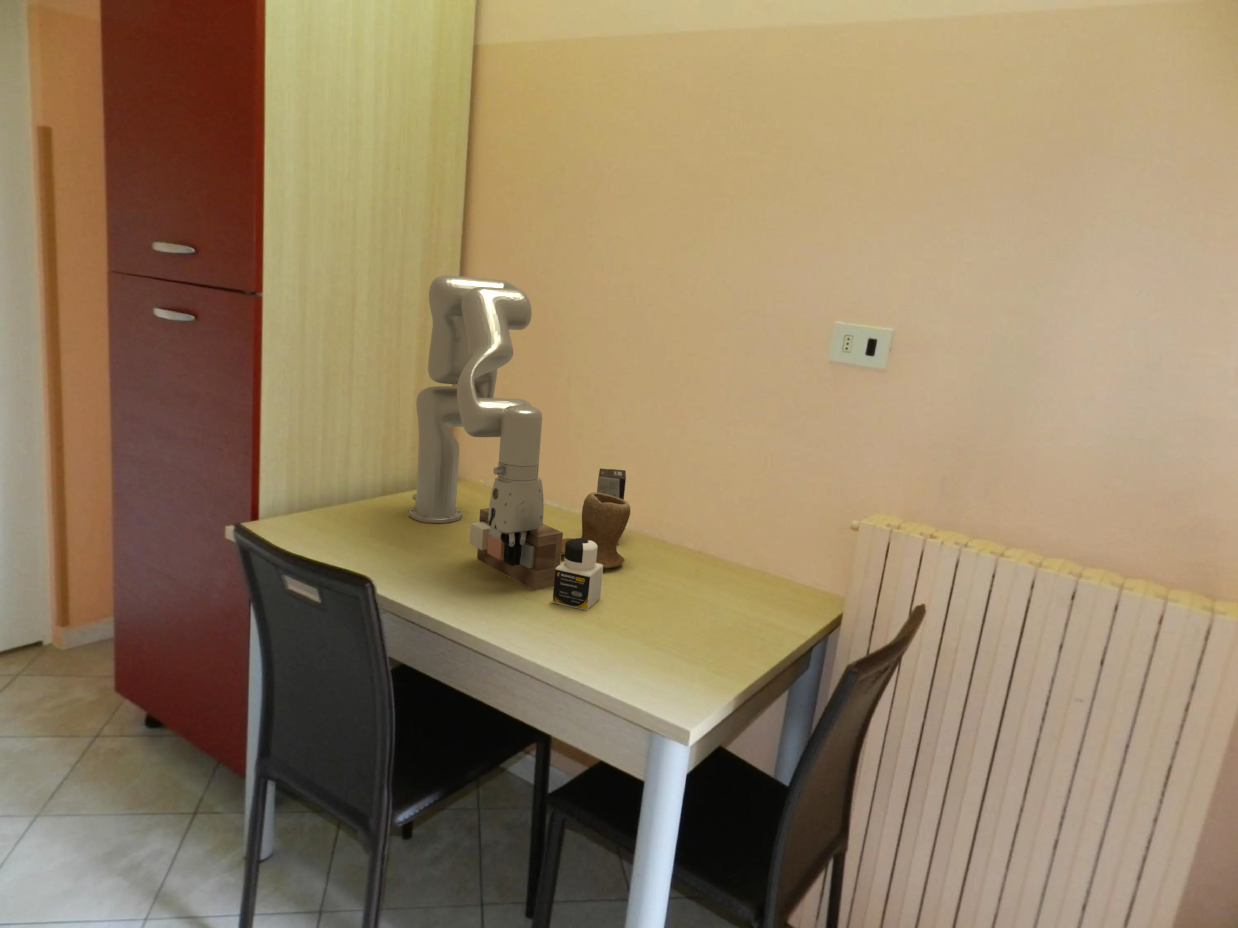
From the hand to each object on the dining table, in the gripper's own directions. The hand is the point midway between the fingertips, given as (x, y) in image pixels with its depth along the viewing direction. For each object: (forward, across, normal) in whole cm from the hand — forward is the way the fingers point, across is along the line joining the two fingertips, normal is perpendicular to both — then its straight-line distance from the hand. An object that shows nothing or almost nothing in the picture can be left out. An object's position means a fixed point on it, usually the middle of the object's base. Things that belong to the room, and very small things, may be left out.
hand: (511, 563), depth 165 cm
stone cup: (+5, +25, +5) cm, 26 cm away
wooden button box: (+5, +6, +7) cm, 10 cm away
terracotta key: (+1, +2, +6) cm, 7 cm away
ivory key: (+1, +2, +13) cm, 13 cm away
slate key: (+1, +4, 0) cm, 5 cm away
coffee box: (+5, +38, +16) cm, 41 cm away
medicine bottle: (+5, +8, -11) cm, 15 cm away
